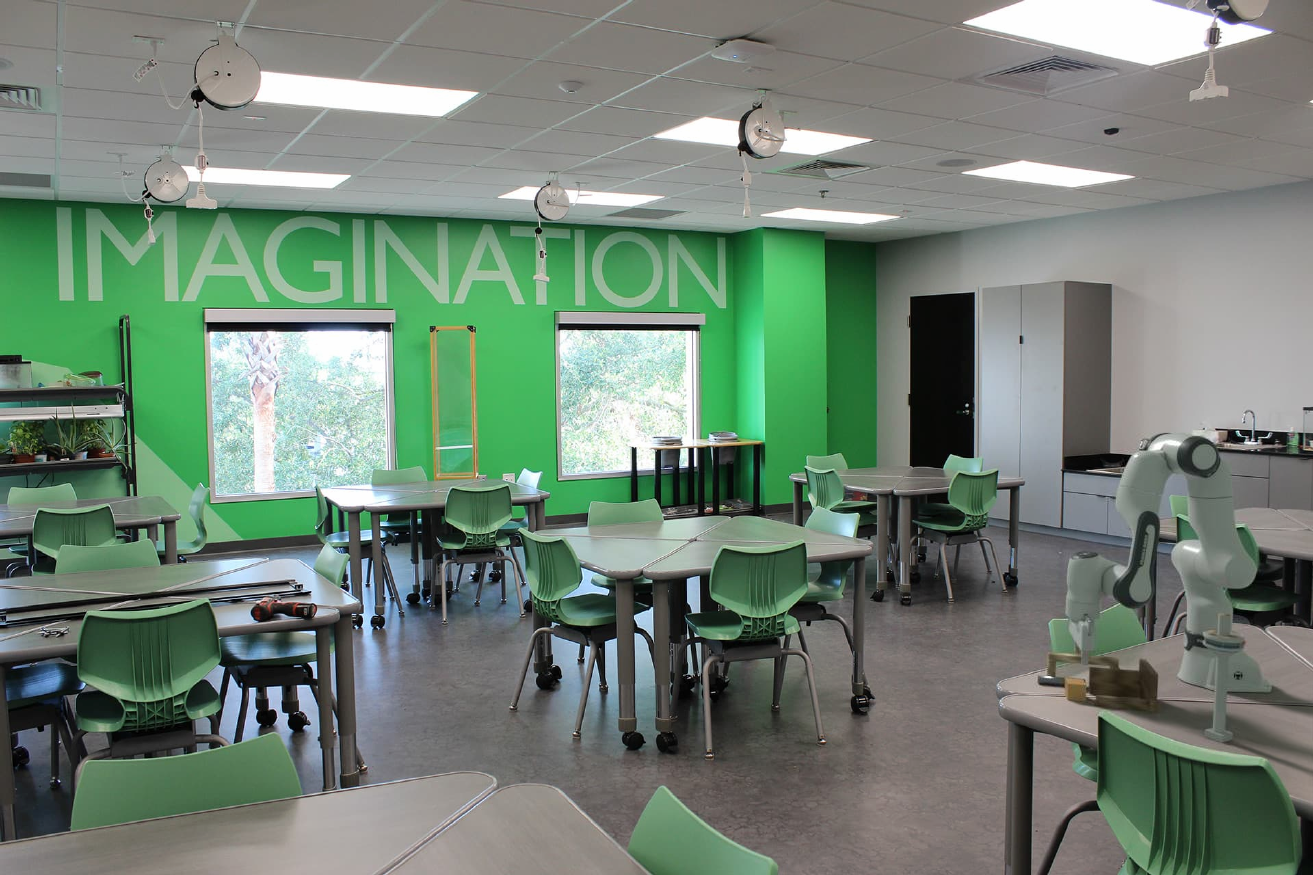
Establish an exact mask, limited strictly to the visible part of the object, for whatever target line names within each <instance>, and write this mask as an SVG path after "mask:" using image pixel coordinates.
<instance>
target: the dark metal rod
mask: <svg viewBox="0 0 1313 875" xmlns="http://www.w3.org/2000/svg"><path fill="white" fill-rule="evenodd" d="M1065 678H1066V677H1062V676H1061V677H1060V676H1055V677H1051V676H1047V675H1037V684H1038V685H1047V686H1056V687H1057V686H1058V687H1065ZM1068 678H1069V679H1077V678H1076V677H1075V678H1072V677H1068ZM1081 679H1082V680H1084V682H1085V683H1086V679H1085V678H1081Z"/></svg>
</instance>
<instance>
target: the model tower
mask: <svg viewBox="0 0 1313 875" xmlns="http://www.w3.org/2000/svg"><path fill="white" fill-rule="evenodd" d="M1230 623H1231V615H1230V614H1225V613H1219V614H1218V629H1207V630H1205V631H1204V632H1203V636H1204V639H1205V640H1203V644H1204V645H1205V646H1206V647H1207V648H1208V649H1210V650H1211V651H1212V652H1213V653H1214V654H1215V655H1216V675H1215V691H1214V698H1213V700H1214V701H1213V703H1214V704H1213V719H1212V721H1213V722H1212V727H1211V728H1206V729H1204V737H1205V738H1208V739H1210V740H1212V741H1216V742H1218V743H1220V744H1221V743H1222V744H1223V743H1227V742H1229V741H1232V740H1233V737H1234V735H1233V734H1234V732H1231V731H1229V730H1226V722H1227V721H1226V718H1227V717H1226V716H1227V702H1228V701H1227V699H1228V698H1227V697H1228V692H1227V682H1228V662H1229V657H1230V656H1232V655H1234V654H1236V653H1238V652H1240V651H1241V650H1243V651H1244V649H1245V646H1243V645H1242V644H1243V642H1244V641H1245V637H1244V635H1243V634H1242V633H1240V632H1237V631H1233V630H1232V631H1230Z"/></svg>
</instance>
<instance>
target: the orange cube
mask: <svg viewBox="0 0 1313 875" xmlns="http://www.w3.org/2000/svg"><path fill="white" fill-rule="evenodd" d="M1064 678H1065V686H1064V696H1065V698H1066V700H1068V701H1076V702H1077V701H1078V702H1086V701H1087V684H1086V681H1085V682H1084V680H1082V679H1083V678H1076V679H1069V678H1070V677H1064Z"/></svg>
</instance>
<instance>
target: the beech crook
mask: <svg viewBox="0 0 1313 875" xmlns="http://www.w3.org/2000/svg"><path fill="white" fill-rule="evenodd" d="M1046 661H1047V663H1046V665H1047V666H1046V667H1047V668H1046V676H1051V677H1056V672H1057V663H1067V664H1078V665H1082V664H1081V655H1079V654H1076V653H1067V652H1066V653H1064V652H1052V651H1051V652H1049V651H1048V652H1047V660H1046ZM1119 662H1120V658H1118V657H1116V656H1105V655H1091V654H1090V656H1089V663H1088V665H1090V666H1092V665H1093V666H1103V667H1104V666H1105V667H1108V668H1111V669H1121V668H1120V667H1119V665H1120V664H1119Z"/></svg>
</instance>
